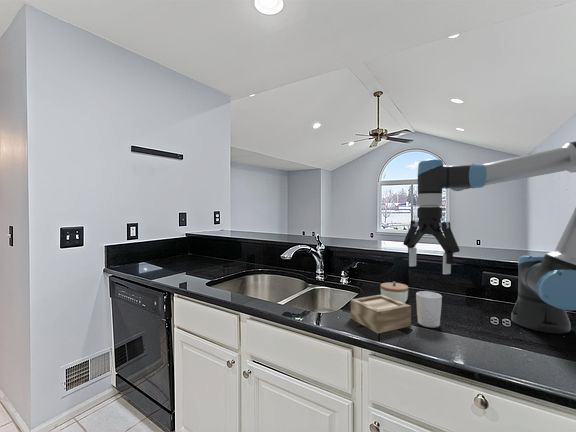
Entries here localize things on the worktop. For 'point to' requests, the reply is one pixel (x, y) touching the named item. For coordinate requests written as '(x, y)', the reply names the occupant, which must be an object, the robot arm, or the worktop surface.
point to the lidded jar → (395, 291)
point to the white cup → (428, 308)
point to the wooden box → (380, 313)
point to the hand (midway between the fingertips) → (428, 269)
